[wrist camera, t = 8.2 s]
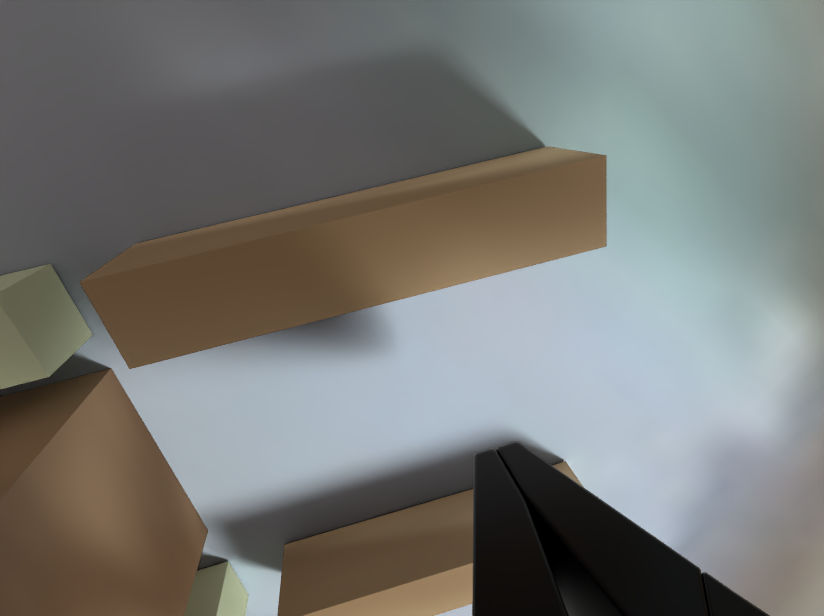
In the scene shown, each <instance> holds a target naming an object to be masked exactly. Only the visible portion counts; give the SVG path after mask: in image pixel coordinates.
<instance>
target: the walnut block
mask: <svg viewBox="0 0 824 616" xmlns="http://www.w3.org/2000/svg"><path fill="white" fill-rule="evenodd" d="M207 533H208V529H207V528H206V526H205V524H204V523H203V521H202V519H201V518H200V516H199V514H198V513H197V511H196V509H195V508H194V506H193V504H192V503H191V501H190V499H189V498H188V496H187V494H186V493H185V491H184V489H183V488H182V486H181V484H180V483H179V481H178V479H177V478H176V476H175V474H174V472H173V471H172V469H171V467H170V466H169V464H168V462H167V461H166V459H165V457H164V456H163V454H162V452H161V451H160V449H159V447H158V446H157V444H156V442H155V441H154V439H153V437H152V436H151V434H150V432H149V431H148V429H147V427H146V426H145V424H144V422H143V421H142V419H141V417H140V416H139V414H138V412H137V411H136V409H135V407H134V405H133V404H132V402H131V400H130V399H129V397H128V395H127V394H126V392H125V390H124V389H123V387H122V385H121V384H120V382H119V380H118V379H117V377H116V375H115V374H114V372H113V370H112V369H111V368H110V369H106V370H102V371H98V372H95V373H91V374H87V375H83V376H79V377H75V378H71V379H67V380H63V381H59V382H55V383H51V384H48V385H44V386H40V387H36V388H32V389H28V390H24V391H20V392H16V393H12V394H8V395H4V396H0V616H184V614H185V610H186V607H187V603H188V600H189V596H190V593H191V589H192V586H193V582H194V579H195V575H196V572H197V568H198V565H199V561H200V557H201V554H202V550H203V547H204V543H205V540H206V536H207Z"/></svg>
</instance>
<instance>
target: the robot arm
mask: <svg viewBox="0 0 824 616" xmlns="http://www.w3.org/2000/svg"><path fill="white" fill-rule="evenodd" d="M472 616H769V615H768V614H766V613H765V612H763V611H762V610H760V609H759V608H757V607H756V606H754V605H753V604H751V603H750V602H748V601H747V600H745V599H744V598H742V597H741V596H739V595H738V594H736V593H735V592H733V591H732V590H731V589H729V588H728V587H726V586H725V585H723V584H722V583H721V582H719V581H718V580H716V579H715V578H713V577H712V576H711V575H709V574H708V573H706V572H703V573H702V574H701V570H700V568H699V567H697V566H696V565H694V564H693V563H691V562H690V561H689V560H687V559H686V558H684V557H683V556H681V555H680V554H679V553H677V552H676V551H674V550H673V549H671V548H670V547H668V546H667V545H666V544H664V543H663V542H661V541H660V540H658V539H657V538H656V537H654V536H653V535H651V534H650V533H648V532H647V531H645V530H644V529H643V528H641V527H640V526H638V525H637V524H635V523H634V522H633V521H631V520H630V519H628V518H627V517H625V516H624V515H622V514H621V513H620V512H618V511H617V510H615V509H614V508H612V507H611V506H610V505H608V504H607V503H605V502H604V501H602V500H601V499H599V498H598V497H597V496H595V495H594V494H592V493H591V492H589V491H588V490H587V489H585V488H584V487H582V486H581V485H579V484H578V483H576V482H575V481H574V480H572V479H571V478H569V477H568V476H566V475H565V474H563V473H562V472H561V471H559V470H558V469H556V468H555V467H553V466H552V465H551V464H549V463H548V462H546V461H545V460H543V459H542V458H540V457H539V456H538V455H536V454H535V453H533V452H532V451H530V450H529V449H528V448H526V447H525V446H523V445H522V444H520V443H519V442H515V441H514V442H510V443H507V444H503V445H500V446H498V447H497V448H496V450H495V449H494V448H490V449H486V450H483V451H479V452H476V453H475V454H474V459H473V598H472Z"/></svg>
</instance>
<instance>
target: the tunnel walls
mask: <svg viewBox="0 0 824 616" xmlns="http://www.w3.org/2000/svg"><path fill="white" fill-rule="evenodd" d="M602 247H606V155H600V154H594V153H587V152H581V151H574V150H567V149H561V148H554V147H543V148H539V149H535V150H531V151H526V152H522V153H518V154H514V155H509V156H505V157H501V158H497V159H492V160H488V161H484V162H480V163H475V164H471V165H467V166H463V167H459V168H454V169H450V170H446V171H442V172H437V173H433V174H429V175H425V176H420V177H416V178H412V179H408V180H403V181H399V182H395V183H391V184H386V185H382V186H378V187H374V188H370V189H365V190H361V191H357V192H353V193H348V194H344V195H340V196H336V197H331V198H327V199H323V200H319V201H314V202H310V203H306V204H302V205H297V206H293V207H289V208H285V209H281V210H276V211H272V212H268V213H264V214H259V215H255V216H251V217H247V218H242V219H238V220H234V221H230V222H225V223H221V224H217V225H213V226H208V227H204V228H200V229H196V230H192V231H187V232H183V233H179V234H175V235H170V236H166V237H162V238H158V239H153V240H149V241H145V242H141V243H136V244H134V245H133V246H131V247H130V248H128V249H127V250H125V251H124V252H122V253H121V254H120V255H118V256H117V257H115V258H114V259H112V260H111V261H109V262H108V263H106V264H105V265H103V266H102V267H101V268H99V269H98V270H96V271H95V272H93V273H92V274H90V275H89V276H87V277H86V278H85V279H83V280H82V281H80V284H81V286H82V288H83V289H84V291H85V293H86V294H87V296H88V298H89V300H90V301H91V303H92V305H93V307H94V308H95V310H96V312H97V313H98V315H99V317H100V319H101V320H102V322H103V324H104V326H105V327H106V329H107V331H108V333H109V334H110V336H111V338H112V339H113V341H114V343H115V345H116V346H117V348H118V350H119V352H120V353H121V355H122V357H123V358H124V360H125V362H126V364H127V365H128V367H129V369H132V368H136V367H140V366H144V365H148V364H152V363H155V362H159V361H163V360H167V359H171V358H175V357H179V356H183V355H186V354H190V353H194V352H198V351H202V350H206V349H210V348H214V347H218V346H221V345H225V344H229V343H233V342H237V341H241V340H245V339H249V338H252V337H256V336H260V335H264V334H268V333H272V332H276V331H280V330H284V329H287V328H291V327H295V326H299V325H303V324H307V323H311V322H315V321H318V320H322V319H326V318H330V317H334V316H338V315H342V314H346V313H350V312H353V311H357V310H361V309H365V308H369V307H373V306H377V305H381V304H384V303H388V302H392V301H396V300H400V299H404V298H408V297H412V296H416V295H419V294H423V293H427V292H431V291H435V290H439V289H443V288H447V287H450V286H454V285H458V284H462V283H466V282H470V281H474V280H478V279H482V278H485V277H489V276H493V275H497V274H501V273H505V272H509V271H513V270H516V269H520V268H524V267H528V266H532V265H536V264H540V263H544V262H547V261H551V260H555V259H559V258H563V257H567V256H571V255H575V254H579V253H582V252H586V251H590V250H594V249H598V248H602ZM552 466H553V467H555V468H556V469H558V470H559V471H561V472H562V473H563V474H565V475H566V476H568V477H569V478H571V479H572V480H574V481H575V482H576V483H578V484H579V485H581V486H582V484H581V483H580V482H579V480H578V479H577V477H576V476H575V474H574V473H573V471H572V470H571V468H570V467H569V465H568V464H567V463H566V461H565V462H562V463H559V464H555V465H552ZM582 487H583V486H582ZM472 598H473V489H471V490H467V491H464V492H461V493H457V494H454V495H451V496H447V497H444V498H440V499H437V500H434V501H430V502H427V503H424V504H420V505H417V506H413V507H410V508H407V509H403V510H400V511H397V512H393V513H390V514H386V515H383V516H380V517H376V518H373V519H370V520H366V521H363V522H359V523H356V524H353V525H349V526H346V527H343V528H339V529H336V530H332V531H329V532H326V533H322V534H319V535H316V536H312V537H309V538H305V539H302V540H299V541H295V542H292V543H289V544H285V545H284V554H283V564H282V575H281V585H280V595H279V606H278V616H434V615H438V614H441V613H444V612H447V611H450V610H453V609H456V608H460V607H463V606H466V605H469V604H472Z"/></svg>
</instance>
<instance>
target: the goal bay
mask: <svg viewBox="0 0 824 616" xmlns="http://www.w3.org/2000/svg"><path fill="white" fill-rule="evenodd" d="M91 336H93V334H92V332H91V331H90V329H89V327H88V326H87V324H86V322H85V321H84V319H83V317H82V316H81V314H80V312H79V311H78V309H77V307H76V306H75V304H74V302H73V301H72V299H71V297H70V296H69V294H68V292H67V291H66V289H65V287H64V286H63V284H62V282H61V281H60V279H59V277H58V276H57V274H56V272H55V271H54V269H53V267H52V266H51V264H47V265H43V266H39V267H35V268H30V269H26V270H22V271H18V272H14V273H9V274H5V275H1V276H0V389H4V388H8V387H12V386H16V385H20V384H23V383H27V382H31V381H35V380H39V379H43V378H47V377H50V376H51V375H52V374H53V373H54V372H55V371H56V370H57V369H58V368H59V367H60V366H61V365H62V364H63V363H64V362H65V361H66V360H67V359H68V358H69V357H71V356H72V355H73V354H74V353H75V352H76V351H77V350H78V349H79V348H80V347H81V346H82V345H83V344H84V343H85V342H86V341H87V340H88V339H89V338H90V337H91ZM247 602H248V594H247V592H246V590H245V588H244V587H243V585H242V583H241V582H240V580H239V578H238V577H237V575H236V573H235V572H234V570H233V568H232V567H231V565H230V563H229V562H224V563H221V564H218V565H214V566H211V567H208V568H204V569H201V570H197V572H196V575H195V579H194V582H193V586H192V589H191V593H190V596H189V600H188V603H187V607H186V610H185V614H184V616H245V614H246V608H247Z"/></svg>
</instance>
